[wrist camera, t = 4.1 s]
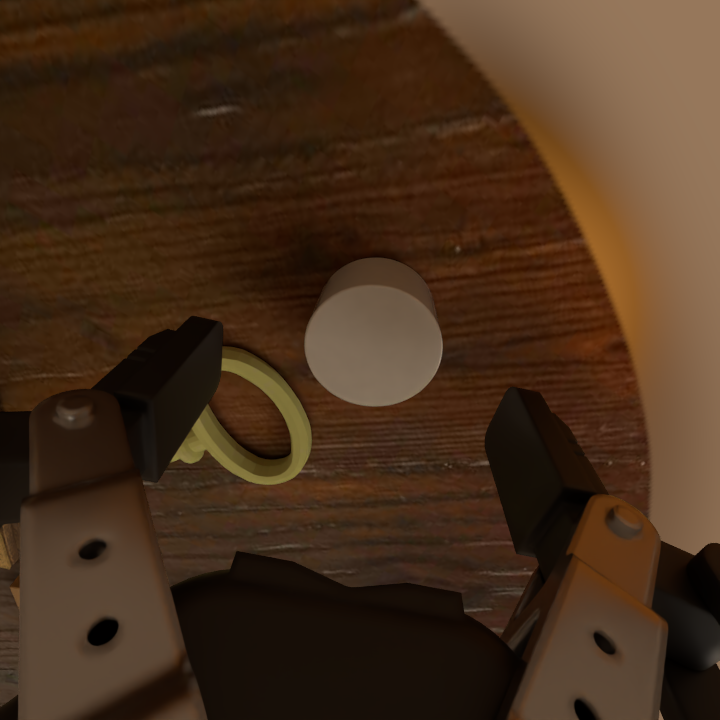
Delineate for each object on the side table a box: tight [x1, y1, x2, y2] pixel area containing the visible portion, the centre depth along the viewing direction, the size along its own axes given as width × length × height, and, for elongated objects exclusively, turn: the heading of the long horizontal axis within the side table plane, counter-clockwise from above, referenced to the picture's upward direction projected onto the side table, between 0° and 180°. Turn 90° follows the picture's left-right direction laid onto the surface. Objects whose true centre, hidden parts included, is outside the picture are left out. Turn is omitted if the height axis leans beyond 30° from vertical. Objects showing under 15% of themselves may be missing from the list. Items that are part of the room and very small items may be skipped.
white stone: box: [304, 258, 443, 406], centre depth 15 cm, size 5×5×3 cm
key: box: [171, 346, 312, 485], centre depth 19 cm, size 7×12×2 cm, turn 131°
